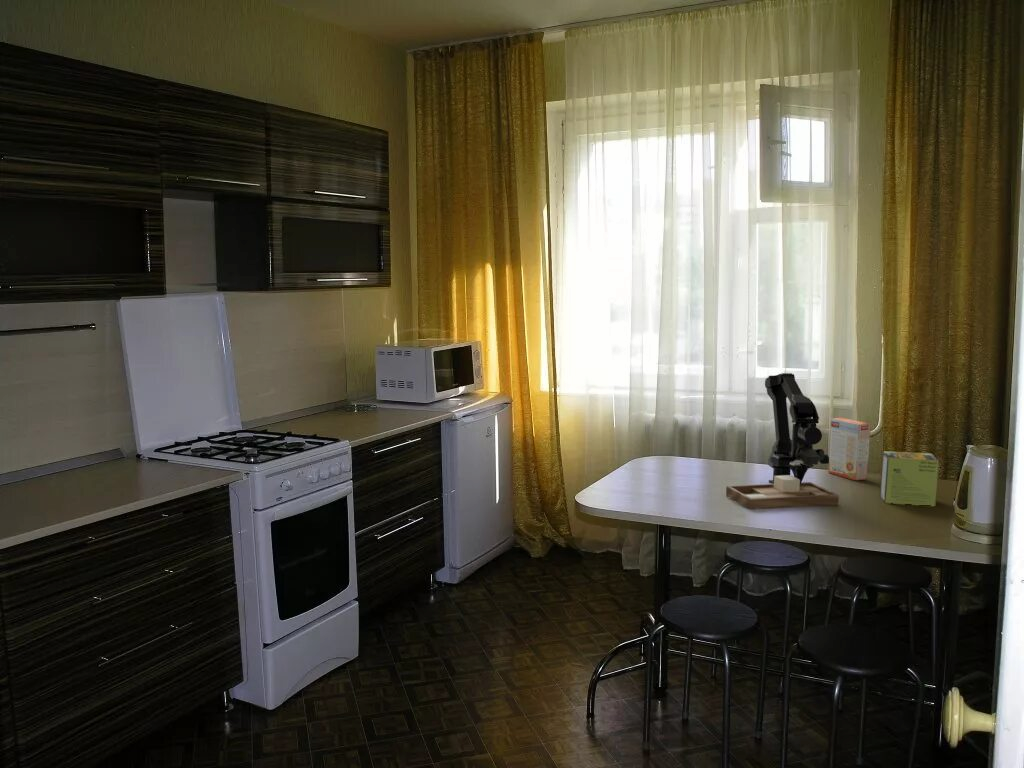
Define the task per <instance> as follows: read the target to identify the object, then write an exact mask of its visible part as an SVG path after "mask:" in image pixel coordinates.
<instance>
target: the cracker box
mask: <svg viewBox="0 0 1024 768" xmlns="http://www.w3.org/2000/svg"><path fill="white" fill-rule="evenodd" d="M871 424H872V423H869V422H864V421H859V420H854V419H849V418H846V417H834V418H831V424H830V438H829V439H830V440H829V453H828V456H829V464H828V471H827V472H828V473H829V474H832V475H836V476H837V477H838V476H839V477H841V478H846V479H849V480H852V481H864V480H865V481H866V480H868V472H869V471H868V466H869V453H870V442H871V441H870V439H871V436H870V435H871Z"/></svg>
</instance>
